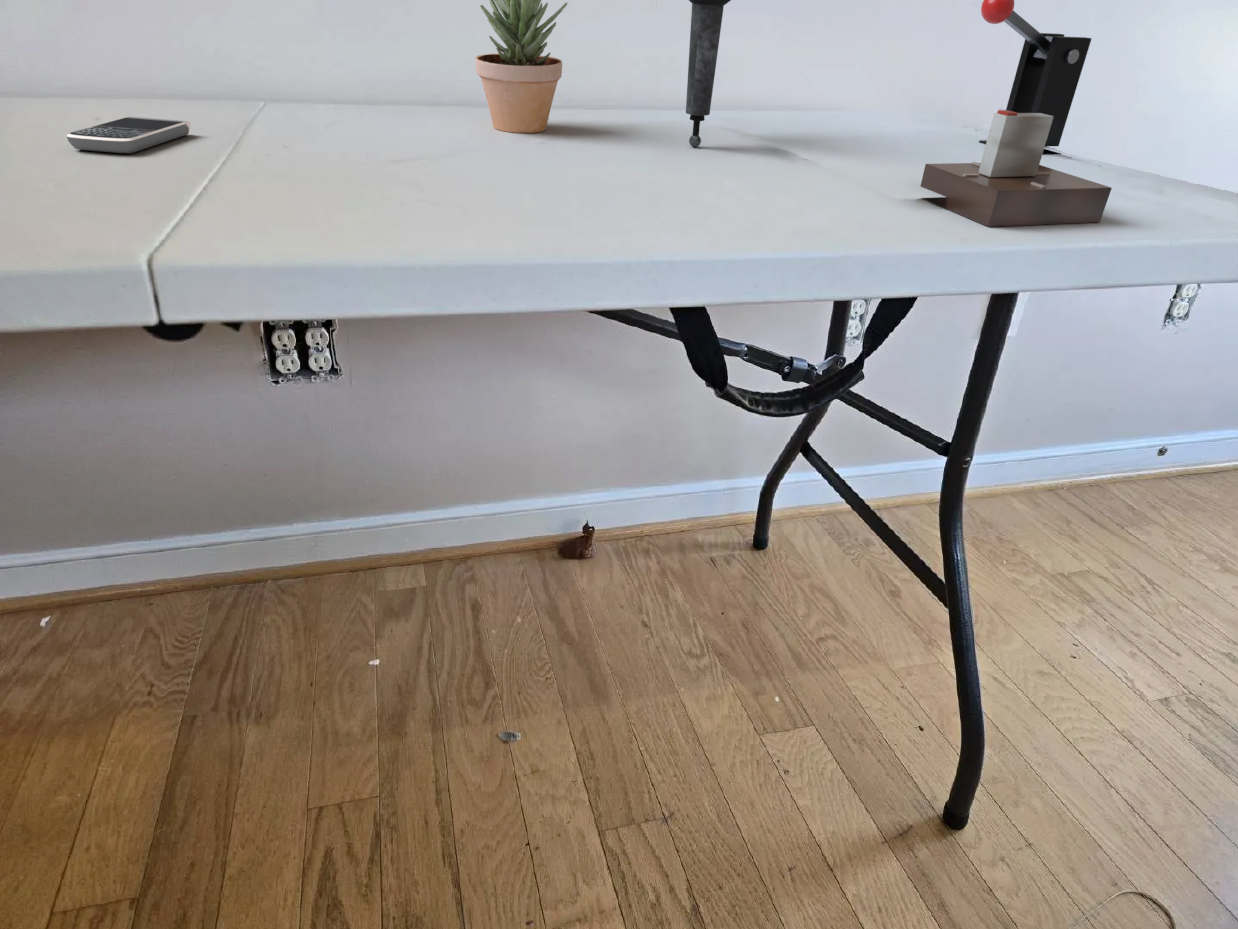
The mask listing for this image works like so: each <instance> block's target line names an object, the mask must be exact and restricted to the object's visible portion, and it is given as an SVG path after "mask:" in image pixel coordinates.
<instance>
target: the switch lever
mask: <svg viewBox="0 0 1238 929" xmlns="http://www.w3.org/2000/svg"><path fill="white" fill-rule="evenodd" d="M1014 8H1015V0H983V1H982V3H981V7H980V14H981V16H982V19H983V20H984V21H985V22H987V23H988V24H992V25H998V24H1001V23H1003V22H1004V23H1005V24H1006V25H1008V26H1009V27H1010V28H1011V29H1012V30H1014V31H1015V32H1017V34H1018V35H1019V36H1021V37H1022V38H1023V39H1024V40H1025V39H1026V40H1027V41H1028V42H1030V43H1031V44H1032V45H1033V46H1035V47H1036V48H1037V51H1036V52H1035V54H1034V56H1033V57H1034V58H1035V59H1036V60H1037V61H1039V62H1040V63H1041V64H1042V65H1044V66H1045V62H1046V59H1047V55H1048V52H1049V48H1050V45H1051V41H1052V38H1053V37H1052V36H1045V37H1044V36H1043V35H1042V34H1041V33H1042V32H1040V31H1038V30H1037V29H1036V28H1035V27H1034V26H1033V25H1031V24H1030V23H1029V22H1028V21H1027V20H1025V19H1024V18H1023V17H1022V16H1020V15H1019V14H1018V12H1016V11H1014Z"/></svg>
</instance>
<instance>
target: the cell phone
mask: <svg viewBox="0 0 1238 929" xmlns="http://www.w3.org/2000/svg"><path fill="white" fill-rule="evenodd" d="M190 130H191V122H190V121H188V120H175V119H165V118H163V119H162V118H153V117H152V118H150V117H138V116H126V117H123V118H119V119H115V120H112V121H108V122H104V123H101V124H100V123H99V124H97V125H93V126H90V127H85V128H82V129H77V130H75V131H72V132H69V133H68V134H66V139H67V141H68V143H69V144H70V145H71V146H72V147H73V148H74V149H76V150H82V151H91V152H103V153H104V152H105V153H116V154H129V155H130V154H133V153H134V154H135V153H137V152H139V151H143V150H146V149H149V148H152V147H155V146H157V145H160V144H164V143H166V142H170V141H173V140H176V139H179V138H182V137H184V136H187V135H189V133H190Z"/></svg>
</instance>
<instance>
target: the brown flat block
mask: <svg viewBox="0 0 1238 929" xmlns="http://www.w3.org/2000/svg"><path fill="white" fill-rule="evenodd" d="M980 165H981V162H976V161H972V162H963V163H962V162H957V163H955V162H953V163H952V162H951V163H949V162H947V163H925V165H924V168H923V173H922V176H921V182H920V188H923V189H926V190H928V191H931V192H933V193H936V194H938V195H940V196H939V197H921V199H922V200H923V201H927V202H929V203H931V204H933V205H936V206H939V207H941V208H943V209H945V210H948V211H950V212H953V213H955V214H957V215H959V216H962V217H964V218H967V219H968V220H972V221H974V222H976V223H978V224H980V225H983V226H985V227H987V228H994V227H1017V226H1018V227H1019V226H1022V227H1023V226H1040V225H1041V226H1042V225H1043V226H1045V225H1066V224H1087V223H1090V224H1091V223H1100V222H1101V221H1102V218H1103V215H1104V213H1105V209H1106V206H1107V203H1108V200H1109V197H1110V194H1111V192H1112V189H1113V188H1112V187H1110V186H1108V185H1105V184H1102V183H1098V182H1095V181H1092V180H1090V179H1086V178H1083V177H1080V176H1076V175H1073V174H1071V173H1070V174H1069V173H1067V172H1064V171H1060V170H1057V169H1054V168H1051V167H1048V166H1045V165H1041V164H1039V167H1038V170H1037V174H1036V176H1024V177H988V176H985V175H982V174H979V173H978V172H979V169H980ZM941 196H942V197H941Z"/></svg>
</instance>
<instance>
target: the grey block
mask: <svg viewBox="0 0 1238 929" xmlns="http://www.w3.org/2000/svg"><path fill="white" fill-rule="evenodd" d="M992 116H993V117H992V120H991V124H990V126H989V131H988V135H987V139H986V140H987V142H986V144H985V146H984V150H983V153H982V156H981V157H982V158H981V161H980V163H981V165H980V169H979V172H978V173H979V174H982V175H985V176H988V177H1024V176H1036V174H1037V170H1038V167H1039V165H1041V164H1040V163H1041V160H1042V156H1043V155H1042V154H1043V150H1044V149H1045V147H1046V146H1045V144H1046V140H1047V137H1048V134H1049V130H1050V127H1051V124H1052V120H1053V116H1050V115H1046V114H1042V113H1017V112H1013V111H1009V110H1006V109H998V110H997V111H996V112H994V113H993V115H992Z"/></svg>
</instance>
